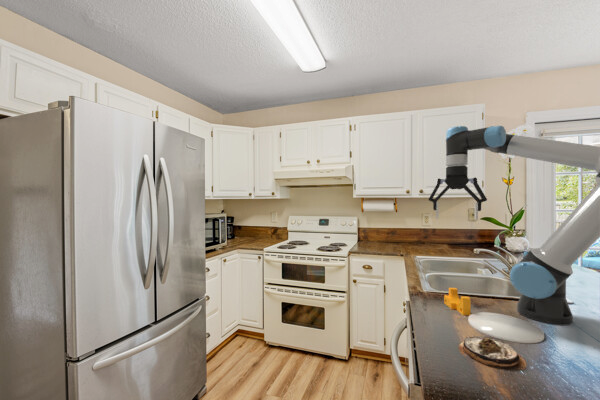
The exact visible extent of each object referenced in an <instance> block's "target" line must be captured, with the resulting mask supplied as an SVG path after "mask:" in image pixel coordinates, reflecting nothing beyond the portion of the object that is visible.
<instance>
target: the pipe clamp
mask: <svg viewBox="0 0 600 400" xmlns="http://www.w3.org/2000/svg"><path fill="white" fill-rule="evenodd" d="M458 289H459V288H458ZM458 289H457V288H456V287H448V294H447V295H446V294H445V295H444V296H443V303H444V304H445V305H446V306H447V307H448V308H449V309H450V310H456V311H457V312H458V313H459V314H460V315H462V316H469V315H471V314H472V313H471V309H472V308H471V304H472V303H471V302H472V301H471V298H470V297H469V296H459V291H458Z"/></svg>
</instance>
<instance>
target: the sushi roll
mask: <svg viewBox="0 0 600 400" xmlns="http://www.w3.org/2000/svg"><path fill="white" fill-rule="evenodd" d="M463 340H464V341H462V342H461V343H459V345H458V350H459V352H460V354H462V355H463V357H466V358H467V356H468V357H469V358H470V359H472V360H473V361H477V362H480V363H482V364H485V365H486V366H489V367H492V368H495V369H499V370H500V369H501V370H502V369H504V370H514V369H517V370H521V371H522V370H524V369H525V368H527V363H526V361H525V359H524V357H522V356H521V355H520V354H519V353H518V352H517V351H516V350H515V349H514V348H513V347H512V346H511V345H510V344H509V343H507V342H505V341H504V340H499V339H498V338H496V339H494V337H492V339H491V338H490V337H489V338H488V337H487V336H483V335H482V336H480V335H473V336H466V337H465V338H464V339H463Z"/></svg>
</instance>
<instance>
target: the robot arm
mask: <svg viewBox="0 0 600 400" xmlns="http://www.w3.org/2000/svg"><path fill="white" fill-rule="evenodd" d="M482 149H484V150H487V151H489V152H491V153H495V154H504V155H510V156H515V157H520V158H526V159H531V160H535V161H536V160H537V161H543V162H547V163H554V164H559V165H563V166H569V167H574V168H581V169H584V170H585V169H586V170H590V171H595V172H596V173H597V174H596V176H595V177H594V180H595V181H596V185H595V186H594V187H593V188H592V190H591V191H590V192H589V193H588V194H587V195H586V196H585V198H583V200H582V201H581V202H580V203H579V204H578V205H577V206H576V208H574V209H573V210H572V212H571V213H570V214H569V215H568V216H567V217H566V218H565V219H564V221H563V222H562V223H561V224H560V225H559V226H558V227H557V228H556V229H555V231H554V232H553V233H552V234H551V235H550V236H549V237H548V239H547V240H546V241H545V242H544V243H543V244H542V245H541V246H540V247H536V248H534V247H533V248H531V249H530V250H529V251H527V250H525V251H524V252H523V255H522V258H521V260H520V261H519V262H518V263H516V264H515V265H513V266H512V268H511V270H510V273H509V279H510V282H511V285H512V287H514V289H515V290H516V291H517V292H519V293H520V294H521V295H520V297H519V298H518V299H519V300H518V301H517V304H516V311H517V312H518V313H519V314H520V315H522V316H523V317H526V318H528V319H531V320H534V321H536V322H537V321H538V322H541V323H547V324H550V325H559V326H564V325H565V326H566V325H568V326H569V325H571V324H573V322H574V320H573V319H574V316H573V312H572V310H571V308H570V306H569V303H568V301H567V296H566V295H567V279H568V278H570V277H571V276H572V275H573V274H574V272H573V268H572V265H573V264H574V263H576V261H577V260H579V258H580V257H582V255H583V254H584V253H585V252H586V251H587V250H588V249H589V248H590V247H591V246H592V245H593V244H594V243H596V241H597V240H598V239H599V238H600V146H597V145H590V144H582V143H576V142H570V141H569V142H568V141H561V140H560V141H559V140H553V139H547V138H541V137H540V138H538V137H531V136H525V135H524V136H523V135H516V134H510V133H507V131H506V129H505V126H503V125H495V126H488V127H482V128H476V129H472V130H471V129H470V130H469V127H467V126H465V125H464V126H463V125H459V126H453V127H450V128H448V129H447V130H446V138H445V150H446V151H445V152H446V154H445V165H446V168H445V178H444V179H443V178H437V183H436V185H435V186H434V189H433V190H432V192H431V193H430V196H429V198H428V201H429V202H432V205H433V211H436V213H435V215H436V216H435V217H436V218H435V219H439V209H440V208H439V202H438V201H439V200H440V199H441V197H443V195H445V193H446V192H447V191H448V190H449V189H450V190H462V189H463V190H464V191H465V192H467V193H468V195H469V196H471V198H473V200H475V202H474V220H476V221H477V220H478V219H479V217H478V216H479V212H481V211H482V203H484V202H487V201H488V198H487V196H486V195H485V193H484V191H483V190H482V188H481V186H480V185H479V183H478V178H477V177H473V178H471V177H470V178H469V176H468V168H469V167H468V166H467V165H468V164H469V163H468V151H472V150H474V151H475V150H482ZM469 182H470V184H473V186H474V189H475V190H476V192H477V193H478V195H479V197H478V196H477V195H476V194H475V193H474V192H473V191H472V189H470V187H469V186H468V184H469ZM444 183H445V185H446V187H445V188H443V190H442V191H441V192H440V193H439V194H438V195H437V196H435V195H436V193H437V192H438V190H439V188H440V186H441V185H443V184H444ZM434 196H435V198H434Z"/></svg>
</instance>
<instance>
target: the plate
mask: <svg viewBox="0 0 600 400" xmlns="http://www.w3.org/2000/svg"><path fill="white" fill-rule="evenodd" d="M467 320H468V324H469V325H470V327H472V328H473V329H474V330H476V331H477V332H480V333H481V334H484V335H487V336H488V337H490V338H491V337H492V338H493V339H494V338H495V339H498V340H501V341H506V342H513V343H518V344H536V343H537V344H538V343H541V342H543V341H544V339H545V333H544V331H543V330H542V329H541V328H540V327H538V326H537V325H534V324H533V323H531V322H529V321H527V320H524V319H521V318H519V317H514V316H511V315H507V314H502V313H497V312H486V311H485V312H484V311H482V312H474V313H471V315H468V319H467Z"/></svg>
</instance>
